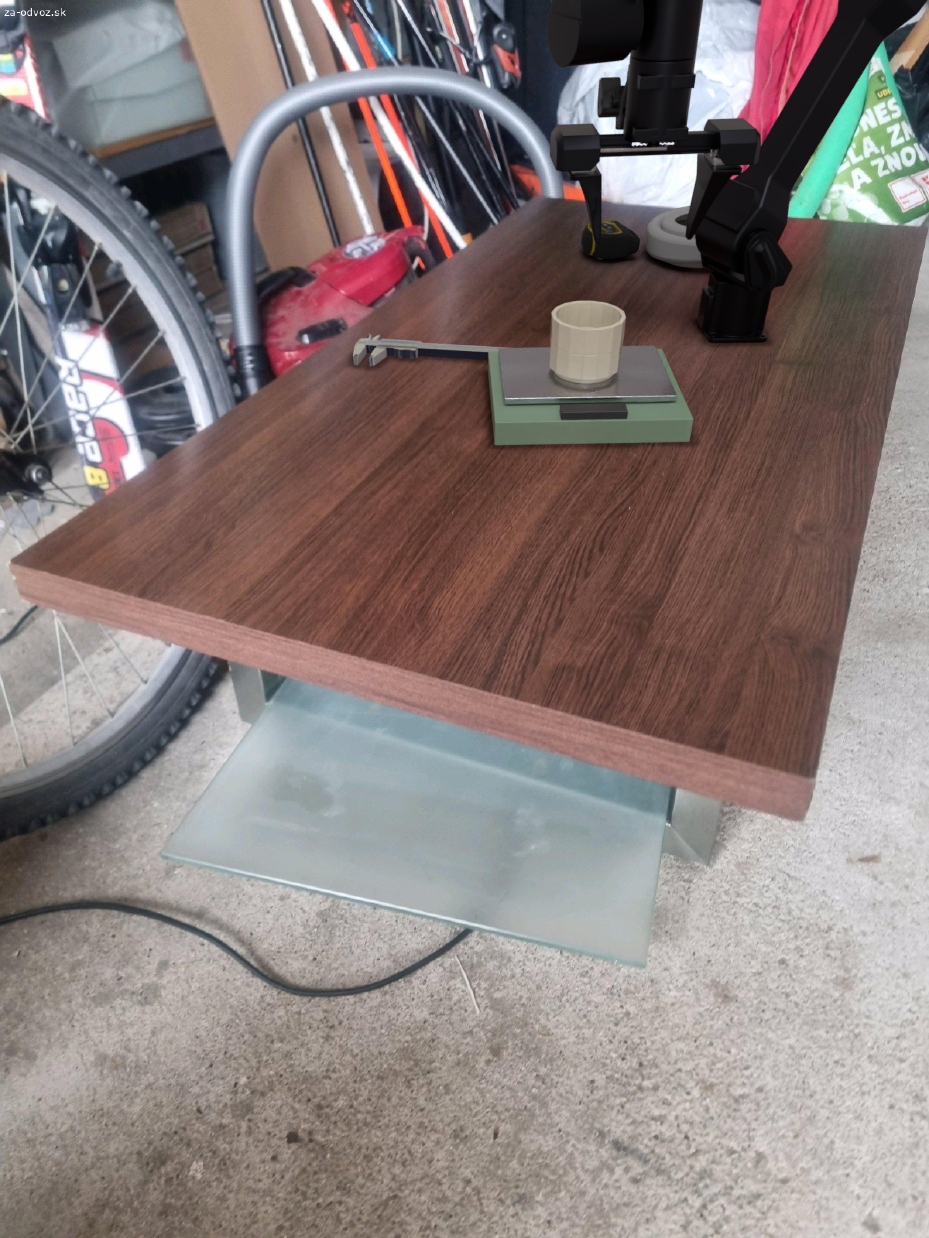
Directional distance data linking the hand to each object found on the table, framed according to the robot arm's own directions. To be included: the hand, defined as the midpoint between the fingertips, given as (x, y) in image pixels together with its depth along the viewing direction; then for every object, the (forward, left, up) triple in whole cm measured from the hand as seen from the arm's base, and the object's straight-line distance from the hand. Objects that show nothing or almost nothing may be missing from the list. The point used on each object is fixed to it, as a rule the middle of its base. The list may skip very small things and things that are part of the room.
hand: (642, 240), depth 86 cm
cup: (+7, +11, -9) cm, 15 cm away
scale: (+7, +12, -12) cm, 18 cm away
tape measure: (-2, -31, -12) cm, 33 cm away
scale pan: (+7, +11, -9) cm, 16 cm away
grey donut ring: (-15, -29, -12) cm, 35 cm away
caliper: (+20, +3, -11) cm, 23 cm away
